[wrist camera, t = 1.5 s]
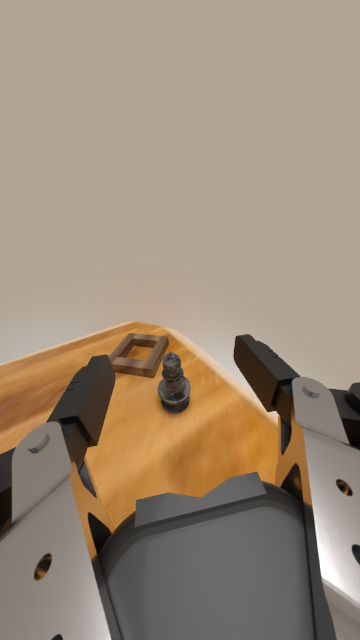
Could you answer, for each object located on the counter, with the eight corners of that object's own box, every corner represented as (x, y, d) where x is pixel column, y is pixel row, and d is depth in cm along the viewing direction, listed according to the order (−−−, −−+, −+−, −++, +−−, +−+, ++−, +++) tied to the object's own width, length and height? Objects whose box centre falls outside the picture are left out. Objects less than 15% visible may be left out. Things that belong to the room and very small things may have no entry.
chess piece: (172, 381, 33) (167, 335, 27) (196, 395, 30) (197, 347, 24) (153, 403, 29) (142, 356, 23) (179, 422, 26) (174, 372, 20)
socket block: (106, 370, 36) (103, 362, 35) (130, 339, 47) (129, 333, 45) (153, 377, 34) (152, 369, 33) (168, 343, 44) (167, 336, 43)
